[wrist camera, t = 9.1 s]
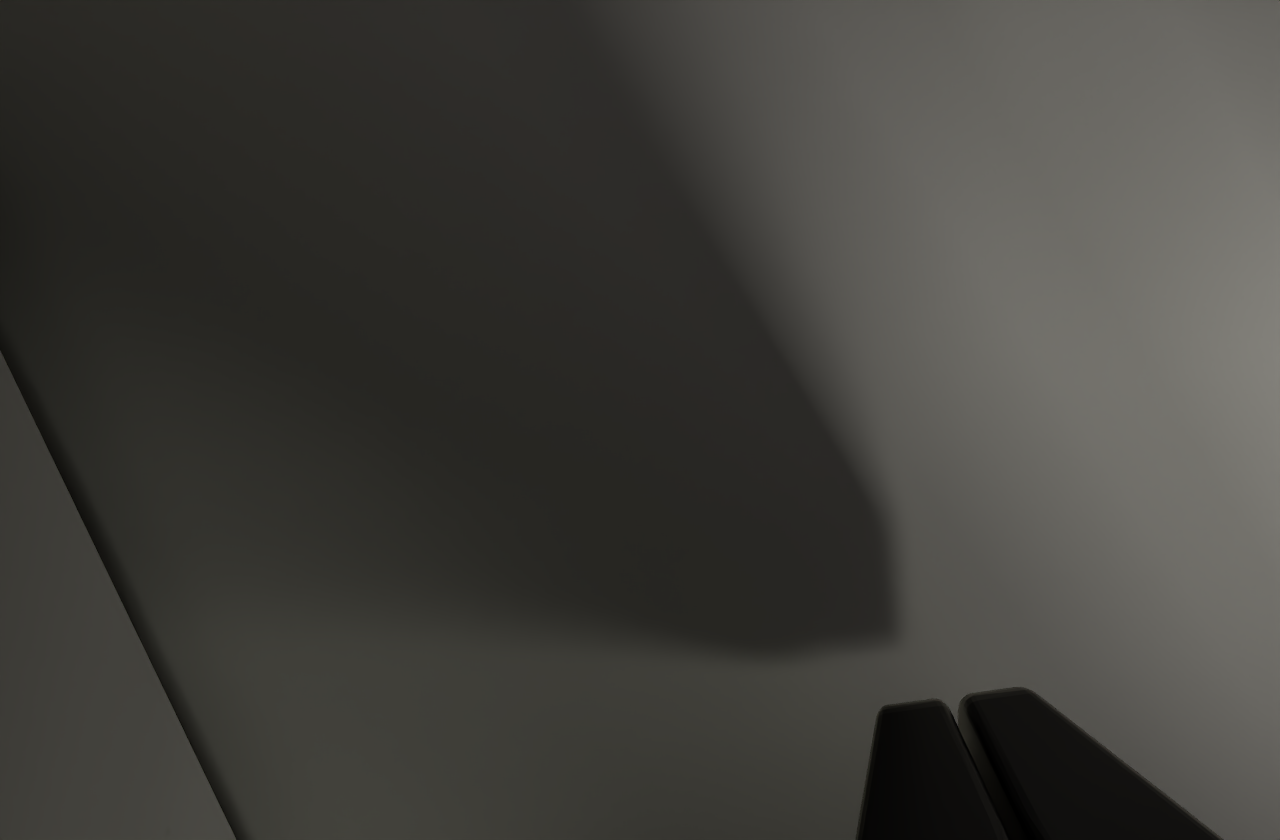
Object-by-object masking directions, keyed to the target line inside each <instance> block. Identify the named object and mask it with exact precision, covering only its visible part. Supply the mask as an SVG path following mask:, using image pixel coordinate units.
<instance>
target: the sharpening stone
mask: <svg viewBox="0 0 1280 840" xmlns="http://www.w3.org/2000/svg"><path fill="white" fill-rule="evenodd" d="M0 840H236V838H235V836H234V834H233V832H232V830H231V828H230V826H229V824H228V821H227V819H226V817H225V815H224V813H223V811H222V809H221V807H220V805H219V803H218V801H217V799H216V797H215V794H214V792H213V790H212V788H211V786H210V784H209V782H208V780H207V778H206V776H205V774H204V772H203V770H202V768H201V765H200V763H199V761H198V759H197V757H196V755H195V753H194V751H193V749H192V747H191V745H190V743H189V741H188V739H187V736H186V734H185V732H184V730H183V728H182V726H181V724H180V722H179V720H178V718H177V716H176V714H175V712H174V710H173V707H172V705H171V703H170V701H169V699H168V697H167V695H166V693H165V691H164V689H163V687H162V685H161V683H160V681H159V678H158V676H157V674H156V672H155V670H154V668H153V666H152V664H151V662H150V660H149V658H148V656H147V654H146V651H145V649H144V647H143V645H142V643H141V641H140V639H139V637H138V635H137V633H136V631H135V629H134V627H133V625H132V622H131V620H130V618H129V616H128V614H127V612H126V610H125V608H124V606H123V604H122V602H121V600H120V598H119V596H118V593H117V591H116V589H115V587H114V585H113V583H112V581H111V579H110V577H109V575H108V573H107V571H106V569H105V567H104V564H103V562H102V560H101V558H100V556H99V554H98V552H97V550H96V548H95V546H94V544H93V542H92V540H91V537H90V535H89V533H88V531H87V529H86V527H85V525H84V523H83V521H82V519H81V517H80V515H79V513H78V511H77V508H76V506H75V504H74V502H73V500H72V498H71V496H70V494H69V492H68V490H67V488H66V486H65V484H64V482H63V479H62V477H61V475H60V473H59V471H58V469H57V467H56V465H55V463H54V461H53V459H52V457H51V455H50V453H49V450H48V448H47V446H46V444H45V442H44V440H43V438H42V436H41V434H40V432H39V430H38V428H37V426H36V424H35V421H34V419H33V417H32V415H31V413H30V411H29V409H28V407H27V405H26V403H25V401H24V399H23V397H22V394H21V392H20V390H19V388H18V386H17V384H16V382H15V380H14V378H13V376H12V374H11V372H10V370H9V368H8V365H7V363H6V361H5V359H4V357H3V355H2V353H1V351H0Z"/></svg>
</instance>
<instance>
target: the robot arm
mask: <svg viewBox="0 0 1280 840" xmlns="http://www.w3.org/2000/svg"><path fill="white" fill-rule="evenodd" d="M958 727H959V728H958ZM855 840H1223V839H1222V838H1221V837H1220V836H1218V835H1217V834H1216V833H1215V832H1213V831H1212V830H1211V829H1209V828H1208V827H1207V826H1206V825H1204V824H1203V823H1202V822H1200V821H1199V820H1198V819H1197V818H1195V817H1194V816H1193V815H1191V814H1190V813H1189V812H1188V811H1186V810H1185V809H1184V808H1182V807H1181V806H1180V805H1179V804H1177V803H1176V802H1175V801H1173V800H1172V799H1171V798H1170V797H1168V796H1167V795H1166V794H1164V793H1163V792H1162V791H1161V790H1159V789H1158V788H1157V787H1156V786H1154V785H1153V784H1152V783H1150V782H1149V781H1148V780H1147V779H1145V778H1144V777H1143V776H1141V775H1140V774H1139V773H1138V772H1136V771H1135V770H1134V769H1132V768H1131V767H1130V766H1129V765H1127V764H1126V763H1125V762H1123V761H1122V760H1121V759H1120V758H1118V757H1117V756H1116V755H1114V754H1113V753H1112V752H1111V751H1109V750H1108V749H1107V748H1106V747H1104V746H1103V745H1102V744H1100V743H1099V742H1098V741H1097V740H1095V739H1094V738H1093V737H1091V736H1090V735H1089V734H1088V733H1086V732H1085V731H1084V730H1082V729H1081V728H1080V727H1079V726H1077V725H1076V724H1075V723H1073V722H1072V721H1071V720H1070V719H1068V718H1067V717H1066V716H1064V715H1063V714H1062V713H1061V712H1059V711H1058V710H1057V709H1056V708H1054V707H1053V706H1052V705H1050V704H1049V703H1048V702H1047V701H1045V700H1044V699H1043V698H1041V697H1040V696H1039V695H1038V694H1036V693H1035V692H1033V691H1031V690H1029V689H1026V688H1023V687H1013V688H1006V689H999V690H991V691H984V692H977V693H971V694H968V695H966V696H965V697H964V698H963V699H962V700H961V701H960V704H959V709H958V726H957V724H956V722H955V719H954V717H953V715H952V713H951V711H950V709H949V707H948V706H947V705H946V704H945V703H944V702H943V701H941V700H938V699H927V700H920V701H913V702H906V703H899V704H892V705H886V706H884V707H882V708H881V709H880V711H879V712H878V714H877V717H876V723H875V728H874V734H873V740H872V746H871V752H870V758H869V763H868V769H867V775H866V781H865V787H864V793H863V799H862V804H861V810H860V816H859V822H858V828H857V834H856V839H855Z"/></svg>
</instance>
